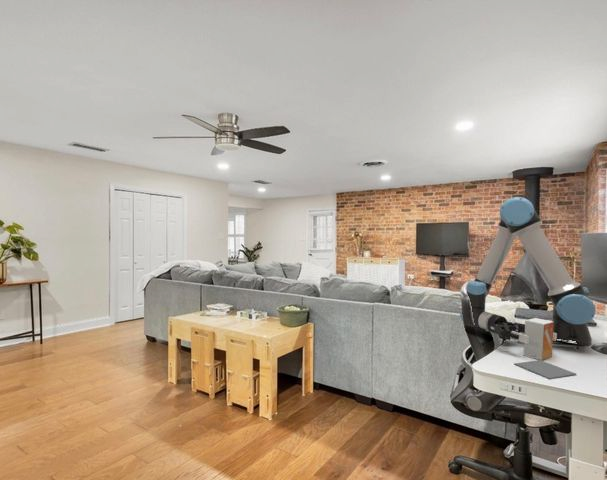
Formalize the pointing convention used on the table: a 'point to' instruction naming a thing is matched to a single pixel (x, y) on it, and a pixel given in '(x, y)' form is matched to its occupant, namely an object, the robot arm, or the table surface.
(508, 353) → the table surface
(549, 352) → the small box
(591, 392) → the table surface
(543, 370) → the slate mat
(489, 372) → the table surface
